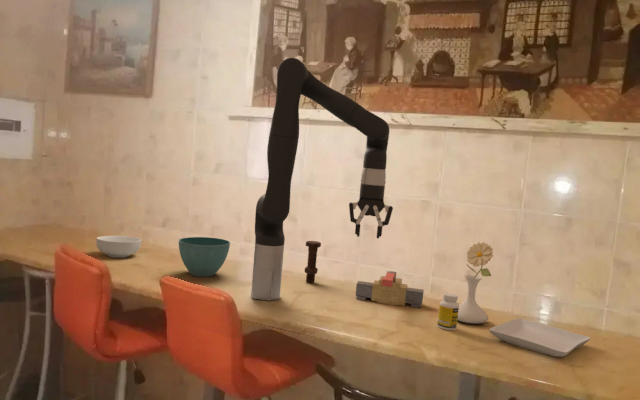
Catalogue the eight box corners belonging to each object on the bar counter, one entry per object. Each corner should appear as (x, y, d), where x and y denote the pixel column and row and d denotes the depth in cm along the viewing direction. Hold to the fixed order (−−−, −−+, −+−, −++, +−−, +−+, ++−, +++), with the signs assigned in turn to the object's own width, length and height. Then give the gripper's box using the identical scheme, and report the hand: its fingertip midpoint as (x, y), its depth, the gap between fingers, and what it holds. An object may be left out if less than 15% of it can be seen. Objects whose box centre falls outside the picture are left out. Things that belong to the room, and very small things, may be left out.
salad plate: (590, 347, 157) (592, 335, 157) (565, 364, 141) (566, 351, 141) (516, 327, 171) (518, 316, 171) (485, 341, 155) (487, 328, 155)
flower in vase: (442, 316, 175) (450, 237, 173) (471, 315, 180) (480, 237, 178) (468, 329, 163) (477, 244, 161) (499, 327, 168) (508, 245, 166)
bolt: (315, 284, 202) (318, 243, 201) (301, 283, 203) (305, 242, 202) (318, 281, 208) (321, 241, 207) (305, 279, 209) (308, 240, 208)
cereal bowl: (149, 257, 226) (150, 239, 225) (114, 261, 212) (115, 243, 211) (121, 250, 235) (122, 233, 234) (86, 254, 221) (87, 236, 220)
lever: (391, 288, 172) (392, 280, 172) (381, 287, 173) (382, 279, 173) (396, 278, 188) (396, 271, 188) (386, 277, 189) (387, 269, 189)
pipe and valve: (421, 308, 182) (423, 286, 181) (354, 299, 186) (356, 277, 186) (422, 303, 189) (424, 281, 188) (357, 294, 193) (359, 273, 193)
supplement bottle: (452, 332, 159) (456, 298, 159) (434, 327, 162) (438, 294, 161) (458, 327, 164) (462, 295, 163) (441, 323, 167) (444, 291, 166)
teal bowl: (191, 282, 191) (194, 246, 190) (167, 270, 205) (169, 237, 204) (237, 277, 203) (239, 244, 202) (211, 267, 217) (213, 236, 216)
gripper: (395, 184, 178) (389, 237, 179) (349, 180, 178) (344, 233, 180) (397, 186, 170) (391, 241, 172) (349, 181, 171) (344, 236, 172)
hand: (367, 236), depth 176 cm, fingers open, 5 cm apart
